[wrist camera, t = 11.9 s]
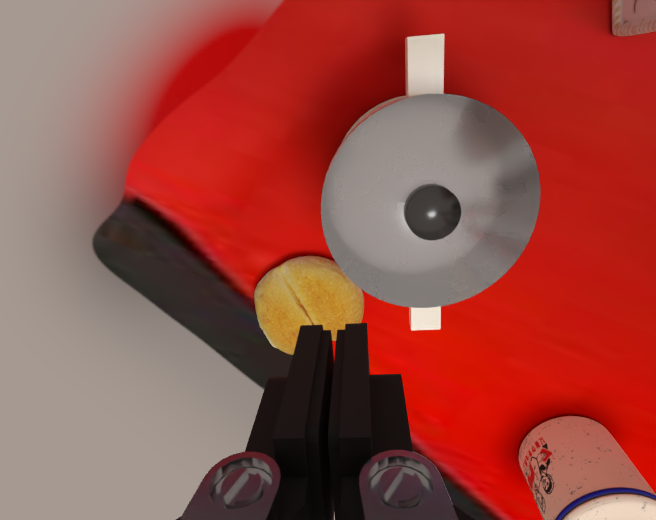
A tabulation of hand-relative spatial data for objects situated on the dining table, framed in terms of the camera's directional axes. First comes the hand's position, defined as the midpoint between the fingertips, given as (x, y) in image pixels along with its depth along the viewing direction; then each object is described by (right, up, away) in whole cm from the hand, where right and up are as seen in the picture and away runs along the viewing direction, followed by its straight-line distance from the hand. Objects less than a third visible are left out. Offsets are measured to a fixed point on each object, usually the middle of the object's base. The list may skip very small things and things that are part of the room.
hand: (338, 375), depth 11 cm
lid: (+6, +6, +15) cm, 17 cm away
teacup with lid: (+22, -16, +31) cm, 42 cm away
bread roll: (-2, -1, +27) cm, 27 cm away
